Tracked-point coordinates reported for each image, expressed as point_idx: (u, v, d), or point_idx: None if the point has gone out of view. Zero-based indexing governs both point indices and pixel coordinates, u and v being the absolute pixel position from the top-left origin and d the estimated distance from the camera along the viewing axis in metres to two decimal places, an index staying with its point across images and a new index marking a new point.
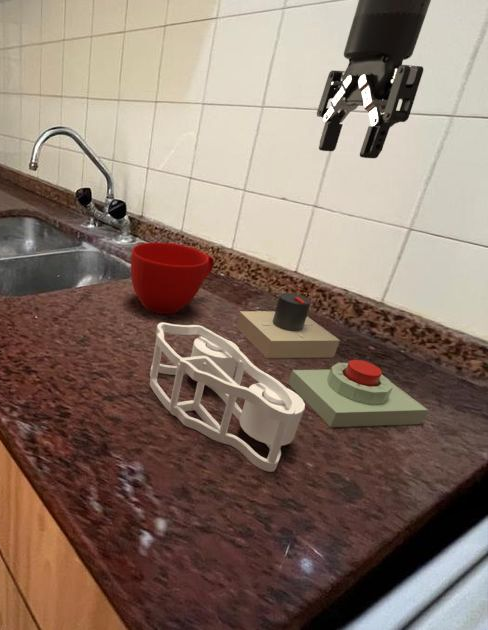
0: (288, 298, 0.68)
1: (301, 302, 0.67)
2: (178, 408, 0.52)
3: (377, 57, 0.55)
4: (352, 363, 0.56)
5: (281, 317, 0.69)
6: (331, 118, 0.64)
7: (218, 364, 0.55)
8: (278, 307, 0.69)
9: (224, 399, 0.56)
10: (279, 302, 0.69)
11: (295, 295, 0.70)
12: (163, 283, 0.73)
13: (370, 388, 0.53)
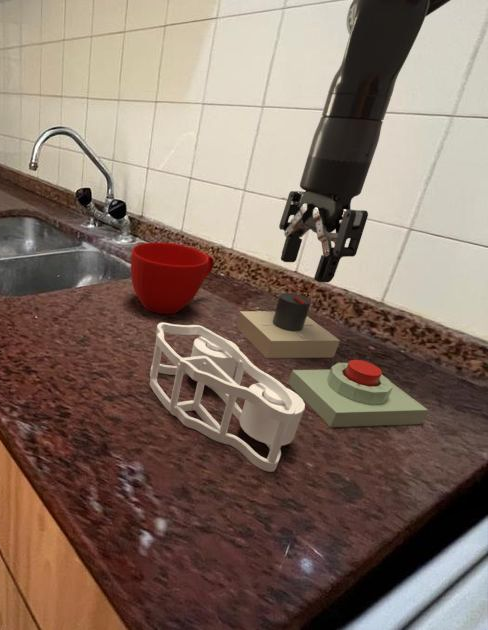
0: (288, 298, 0.68)
1: (301, 302, 0.67)
2: (178, 408, 0.52)
3: (328, 195, 0.60)
4: (352, 363, 0.56)
5: (281, 317, 0.69)
6: (291, 234, 0.68)
7: (218, 364, 0.55)
8: (278, 307, 0.69)
9: (224, 399, 0.56)
10: (279, 302, 0.69)
11: (295, 295, 0.70)
12: (163, 283, 0.73)
13: (370, 388, 0.53)
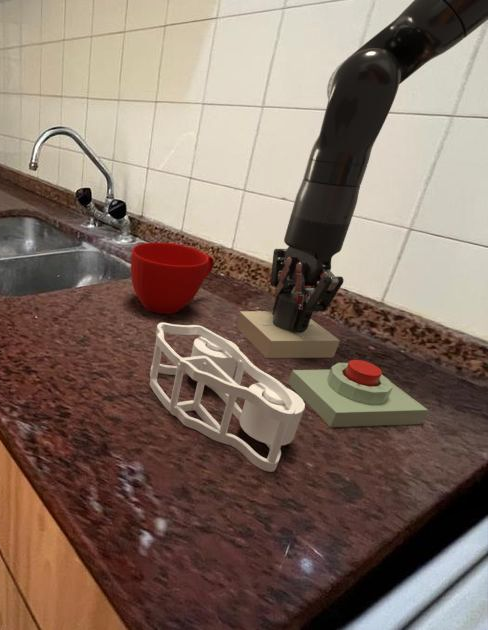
0: (288, 298, 0.68)
1: None
2: (178, 408, 0.52)
3: (310, 252, 0.63)
4: (352, 363, 0.56)
5: (281, 317, 0.69)
6: (282, 291, 0.70)
7: (218, 364, 0.55)
8: (278, 307, 0.69)
9: (224, 399, 0.56)
10: (279, 302, 0.69)
11: (295, 295, 0.70)
12: (163, 283, 0.73)
13: (370, 388, 0.53)
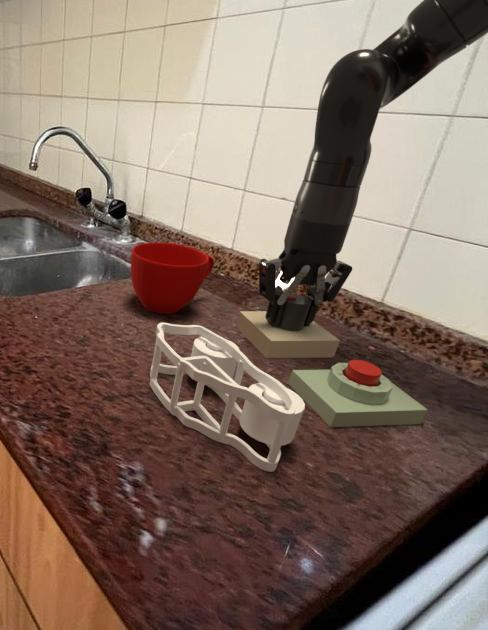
0: (291, 295, 0.69)
1: None
2: (178, 408, 0.52)
3: None
4: (352, 363, 0.56)
5: None
6: (307, 296, 0.69)
7: (218, 364, 0.55)
8: None
9: (224, 399, 0.56)
10: None
11: (305, 300, 0.68)
12: (163, 283, 0.73)
13: (370, 388, 0.53)
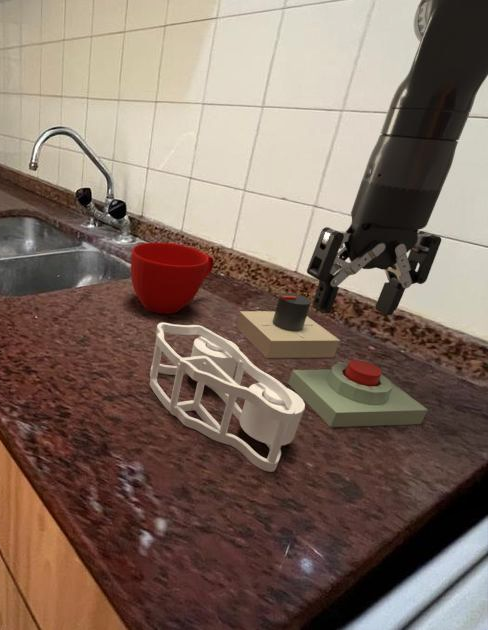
0: (291, 295, 0.69)
1: (283, 296, 0.68)
2: (178, 408, 0.52)
3: None
4: (352, 363, 0.56)
5: None
6: (389, 278, 0.56)
7: (218, 364, 0.55)
8: None
9: (224, 399, 0.56)
10: None
11: (305, 300, 0.68)
12: (163, 283, 0.73)
13: (370, 388, 0.53)
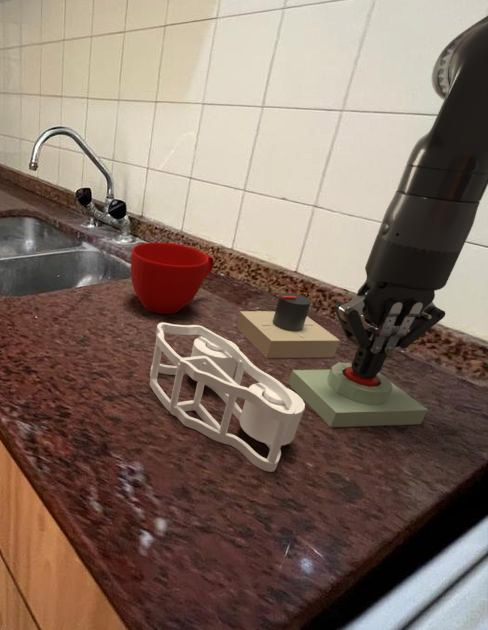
0: (291, 295, 0.69)
1: (283, 296, 0.68)
2: (178, 408, 0.52)
3: None
4: (349, 370, 0.56)
5: None
6: None
7: (218, 364, 0.55)
8: None
9: (224, 399, 0.56)
10: None
11: (305, 300, 0.68)
12: (163, 283, 0.73)
13: (370, 388, 0.53)
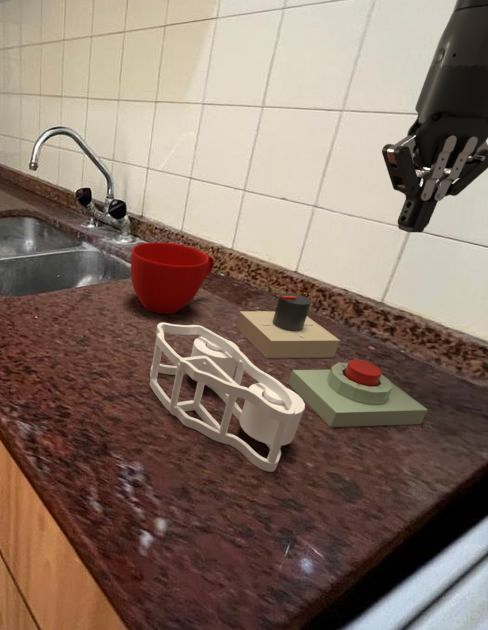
0: (291, 295, 0.69)
1: (283, 296, 0.68)
2: (178, 408, 0.52)
3: None
4: (352, 363, 0.56)
5: None
6: None
7: (218, 364, 0.55)
8: None
9: (224, 399, 0.56)
10: None
11: (305, 300, 0.68)
12: (163, 283, 0.73)
13: (370, 388, 0.53)
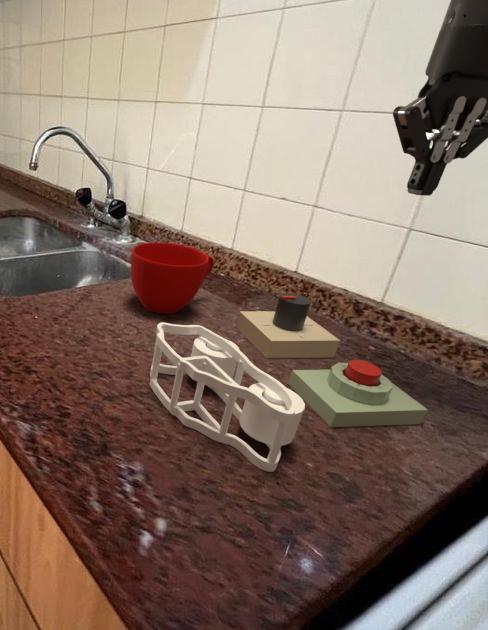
0: (291, 295, 0.69)
1: (283, 296, 0.68)
2: (178, 408, 0.52)
3: None
4: (352, 363, 0.56)
5: None
6: None
7: (218, 364, 0.55)
8: None
9: (224, 399, 0.56)
10: None
11: (305, 300, 0.68)
12: (163, 283, 0.73)
13: (370, 388, 0.53)
